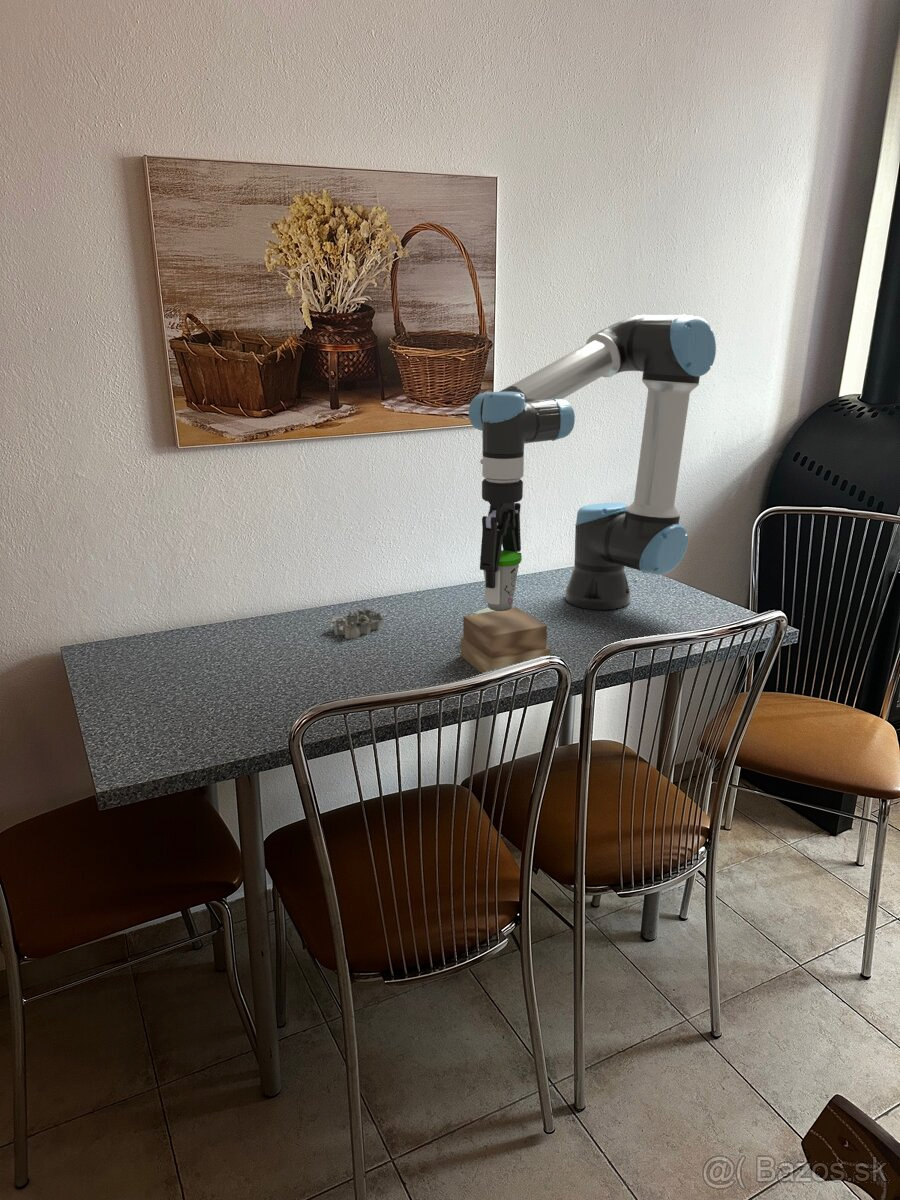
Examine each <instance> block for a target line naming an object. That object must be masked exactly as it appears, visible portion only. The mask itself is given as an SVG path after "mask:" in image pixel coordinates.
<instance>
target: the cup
mask: <svg viewBox="0 0 900 1200" xmlns="http://www.w3.org/2000/svg"><path fill="white" fill-rule="evenodd" d="M519 553H520V552H518V553H517V552H512V551H505V550H503V546H502V547H501V553H500V560H499V566H498V570H500V604H498V605H496V604H490V603H487V608H490V609H491V610H495V611H507V610H510V609H511V608H513V604H514V603H513V602H514V596H515V591H516V589H515V585H516V583H517V577H518V571H519V567H520V564H521V562H522V560H523V558H522V554H521V555H520V554H519ZM480 558H481V555H480V556H479V559H480ZM483 575H484V577H483V578H484V579H485V570H483Z"/></svg>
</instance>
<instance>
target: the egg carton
mask: <svg viewBox="0 0 900 1200" xmlns="http://www.w3.org/2000/svg"><path fill="white" fill-rule="evenodd" d="M385 619H386V616H385V615H383V616H382V615H381V613H380V612H376V611H374V610H372V609H369V608H368V607H366V606H362V607H361V608H359V609H358V610H354V611H349V612H348V613H345V614H343V615H340V616H334V617H332V619H331V620H330V625H333V624H334V625H333V627H334V629H333V631H334V635H336V636H340V635H341V636H344V638H345V639H347V640H349V639H359V638H360V636H361V635H369V634H371V631H373V630H375V631H376V630H377V631H379V630H382V628H383V627H382V626H383V623H382V622H384V620H385Z"/></svg>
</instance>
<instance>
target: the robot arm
mask: <svg viewBox="0 0 900 1200" xmlns="http://www.w3.org/2000/svg"><path fill="white" fill-rule="evenodd" d="M716 352H717V343H716V337H715V334H714V331H713V329H712V327H711V325H710V324H709V323H708V321H706V320H705V319H704V318H702V317H700V316H694V315H687V314H657V315H656V314H638V315H635V316H634V315H633V316H630V317H628V318H625V319H622V320H620V321H617V322H616V323H613V324H611V325H609V326H608V327H605V328H603V329H601V330H600V331H597V332H596V333H593V334H591V336H590V337H588V339H587V340H586V342H585V344H584V345H582V346H580V347H578V348H577V349H574V350H573V351H571V352H569V353H567V354H565V355H564V356H562V357H560V358H558V359H557V360H554V361H553V362H551V363H549V364H547V365H546V366H544V367H542V368H539V370H536V371H535V372H532V373H531V374H528V375H527V376H526V377H524V378H522V379H520V380H518V381H516V382H514V383H512V384H511V385H509V386H507V387H505V388H503V389H501V390H499V391H492V392H483V393H482V392H481V393H479V394H477V395H476V396H474V398H472V399H471V401H470V404H469V407H468V419H469V422H470V424H471V425H472V427H473V428H475V429H477V430H478V431H482V435H481V436H482V440H481V441H482V458H481V459H480V464H481V465H482V467H481V468H482V470H481V472H482V473H481V474H482V477H483V478H484V479H482V480H481V481H482V482H481V498H482V500H483V501H485V502H488V503H489V510H488V515H487V516H486V515H483V516H482V518H481V524H482V526H481V527H482V534H481V545H480V547H481V548H480V556H481V558H480V557H479V559H480V560H479V561H480V563H479V570H480V571H484V570H485V578H484V603H485V604H488V603H490V604H496V605H498V604H500V570H498V566H499V560H500V553H501V550H505V551H512V552H517V553H519V554H520V555H522V552H521V550H522V546H521V544H522V542H521V541H522V540H521V517H520V515H521V506H522V505H521V503H519V502H520V501H522V499H523V498H524V497H523V495H524V494H523V491H524V490H523V488H524V481H523V480H522V478H523V477H524V469H525V468H524V464H525V463H524V460H525V456H524V453H525V444H531V443H538V442H539V443H540V442H541V443H542V442H547V441H552V442H553V441H557V440H559V439H561V440H562V439H563V438H566V437H567V436H570V434H571V433H572V431H573V430H574V427H575V422H576V420H575V418H576V416H575V414H576V413H575V411H574V409H573V406H572V405H571V404H570V402H569V401H567V400H566V399H564V398H567V397H568V396H570V395H572V394H574V393H576V392H577V391H579V390H581V389H582V388H584V387H586V386H587V385H590V384H591V383H593V382H595V381H596V380H598V379H600V378H610V377H613V376H615V375H617V374H619V373H622V372H642V379H641V381H642V383H643V384H644V385H645V386H646V388H647V397H646V406H645V414H644V419H643V420H644V422H643V428H642V436H641V437H642V438H641V445H640V452H639V459H638V468H637V469H638V470H637V474H636V475H637V477H636V483H635V491H634V499H633V502H632V503H630V505H628V504H627V503H626V504H625V503H621V502H601V503H592V504H587V505H583V506H582V507H579V509H578V510H577V512H576V519H575V520H576V522H575V532H574V533H575V537H574V538H575V539H574V540H575V541H574V568H573V570H572V573H571V576H570V578H569V581H568V584H567V586H566V589H565V600H566V602H568V604H571V605H572V606H575V607H577V608H580V609H581V608H583V609H587V610H594V611H595V610H596V611H599V610H600V611H605V610H607V611H609V609H611V610H617V609H616V608H618V609H621V608H624V607H627V606H628V605H629V604H630V602H631V590H630V587H629V583H628V579H627V576H626V572H625V567H626V568H630V569H632V570H633V569H634V570H637V571H640V572H641V573H644V574H651V575H655V576H663V575H666V574H669V573H671V572H672V571H673V570H674V569H675V568H677V566H678V565H679V564H680V563H681V562H682V560H683V558H684V556H685V554H686V550H687V548H688V544H689V535H688V533H687V530H686V528H685V527H683V526H682V525H681V524H680V517H681V513H680V512H679V510H678V509H677V508H676V506H675V501H676V494H677V488H678V481H679V474H680V467H681V459H682V451H683V445H684V437H685V430H686V425H687V417H688V409H689V401H690V395H691V393H692V391H694V390H695V389H696V388H697V387H698V386H699V385H700V384H699V383H700V379H701V377H702V376H704V375H706V374H708V372H709V371H710V370H711V366H713V364H714V362H715V360H716V354H717V353H716ZM501 547H502V548H501ZM516 589H517V587H516V585H515V590H516ZM623 606H624V607H623Z"/></svg>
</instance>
